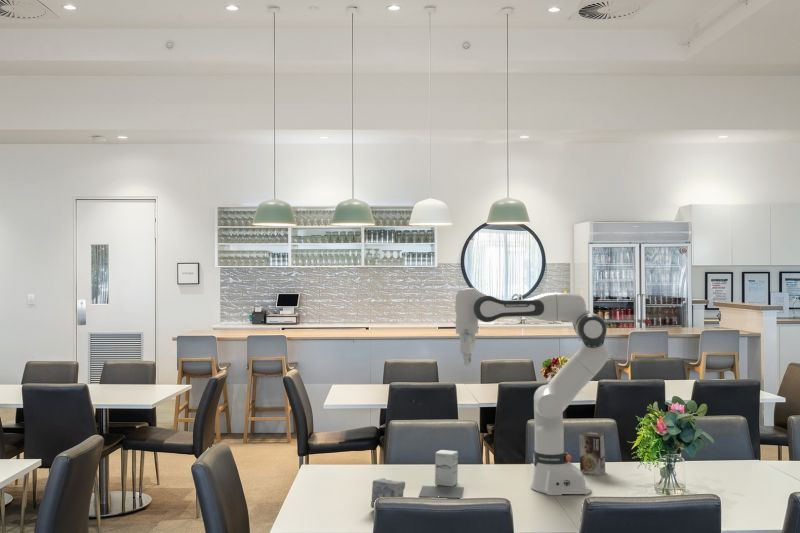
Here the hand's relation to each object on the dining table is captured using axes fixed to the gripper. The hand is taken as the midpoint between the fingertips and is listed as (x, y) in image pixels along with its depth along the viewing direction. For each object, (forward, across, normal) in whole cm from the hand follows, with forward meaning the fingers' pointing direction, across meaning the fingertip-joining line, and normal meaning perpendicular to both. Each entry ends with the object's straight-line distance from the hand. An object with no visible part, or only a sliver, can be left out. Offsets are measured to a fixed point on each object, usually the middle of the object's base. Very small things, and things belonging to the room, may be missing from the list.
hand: (467, 364), depth 279 cm
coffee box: (+48, +27, -49) cm, 73 cm away
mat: (+48, -10, +10) cm, 50 cm away
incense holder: (+48, -32, +26) cm, 64 cm away
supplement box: (+47, +1, +10) cm, 48 cm away
